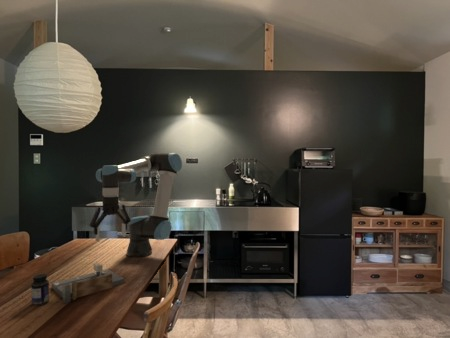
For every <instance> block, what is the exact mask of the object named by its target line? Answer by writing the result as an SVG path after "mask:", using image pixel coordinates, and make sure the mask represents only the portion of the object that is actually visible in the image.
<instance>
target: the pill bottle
mask: <svg viewBox="0 0 450 338" xmlns="http://www.w3.org/2000/svg"><path fill="white" fill-rule="evenodd" d="M47 278H48V277H47V274H46V273H39V274H35V275H34V276H33V277H32V279H33V280H32V283H31V286H30V290H31V291H30V292H31V296H30V297H31V298H30V299H31V306H35V307H40V306H44V305H46V304H47V303H49V302H50V282H49V280H48V279H47Z"/></svg>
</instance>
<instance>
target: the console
mask: <svg viewBox="0 0 450 338" xmlns="http://www.w3.org/2000/svg"><path fill="white" fill-rule="evenodd" d="M108 274H112V287H115V286H119V285H122V284H125V278H124V277H122V276H121V275H119V274H117V273H115V272H113V271H111V270H110V269H108V268H107V269H103V271H101V272H100V275H96V271H95V272H91V273H87V274H84V275H79V276H76V277H71V278H66V279H63V280H59V281H54V282H52V283H51V288H52V289H53V291H55V292H56V293H57V294H58V295H59V296H60V297H61V298H62V299H63V284H65V283H69V284H70V293H71V299H72V282H81V281H85V280H88V279H92V278H96V277H100V276H104V275H108Z"/></svg>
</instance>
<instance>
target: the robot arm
mask: <svg viewBox="0 0 450 338" xmlns="http://www.w3.org/2000/svg"><path fill="white" fill-rule="evenodd" d="M182 166H183V161H182V158H181V156H180V154H179V153H177V152H157V153H156V152H155V153H151V154H148V155H145V156H141V157H140V158H139V159H137V160H133V161H129V162H125V163H122V164H121V163H120V164H119V165H117V164H113V165H111V164H110V165H109V164H108V165H107V164H106V165H103V166H102V168H99V169H97V170H96V172H95V178H96V180H97V181H98V182H100V183H101V184H102V207H101V206H96V207H95V212H94V214H93V217H92V219H91V220H90V223H89V227H90V228H93V235H95V241H96V242H100V225H101V223H102V222H103V221H104V220H105V217H106V218H107V216H111V215H113V216H114V215H116V216H117V217H118V218H119V220H120V221H121V237H123V238H126V235H127V234H126V232H127V230H128V229H129V243H128V246H127V250H126V256H127V257H132V258H135V257H136V258H139V257H141V258H142V257H147V256H150V255H152V253H153V249H152V248H153V247H152V245H151V242H150V239H152V240H156V241H160V240H161V241H162V240H163V241H164V240H166V239H167V238H168V237H169V236H170V234H171V231H172V223H171V222H170V221H169V219H170V218H169V216H168V211H169V205H170V199H171V194H172V188H173V182H174V178H175V177H176V176H177V175H178V174H177V173H178V172H180V171H181V170H182V168H183V167H182ZM151 171H152V172H157V173H158V174H159V177H158V185H157V190H156V194H155V199H154V204H153V210H152V213H151V214H150V215H139V216H135V217H131V218H130V216H129V214H128V212H127V210H126V206H125V204H119V202H120V199H119V191H120V190H119V189H120V188H119V184H130V183H134V182H135V181H136V180H137V174H139V173H142V172H145V173H147V172H151ZM119 210H120V211H121V213H120V211H119ZM102 211H103V212H102ZM101 212H102V213H101ZM100 214H101V215H100ZM122 214H123V215H122ZM99 215H100V216H99ZM128 224H129V225H128ZM128 226H129V228H128Z"/></svg>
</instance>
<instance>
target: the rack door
mask: <svg viewBox="0 0 450 338" xmlns="http://www.w3.org/2000/svg"><path fill="white" fill-rule="evenodd" d="M109 289H113V286H112V274H108V275H104V276H100V277H96V278H92V279H88V280H85V281H81V282H72V298H71V299H72V300H71V301H75V300H77V299H78V298H81V297H83V296H87V295H92V294H94V293H98V292H102V291H104V290H109Z"/></svg>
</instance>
